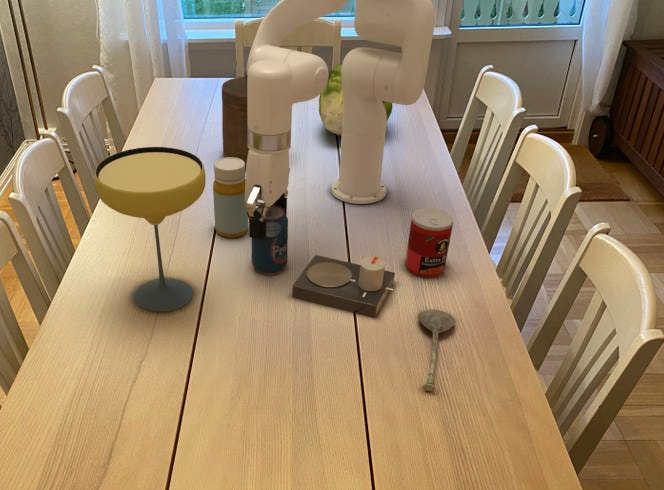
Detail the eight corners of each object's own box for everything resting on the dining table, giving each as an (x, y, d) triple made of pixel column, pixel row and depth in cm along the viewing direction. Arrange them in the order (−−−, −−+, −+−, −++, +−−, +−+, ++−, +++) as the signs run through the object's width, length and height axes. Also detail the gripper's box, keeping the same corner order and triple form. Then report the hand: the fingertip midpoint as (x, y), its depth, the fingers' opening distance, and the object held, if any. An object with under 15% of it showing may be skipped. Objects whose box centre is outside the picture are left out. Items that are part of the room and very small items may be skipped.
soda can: (280, 279, 137) (281, 222, 130) (246, 272, 139) (245, 217, 131) (291, 261, 142) (293, 206, 135) (258, 255, 144) (258, 200, 137)
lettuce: (298, 142, 190) (305, 78, 176) (337, 103, 203) (346, 41, 190) (364, 167, 185) (376, 103, 171) (399, 125, 198) (413, 63, 184)
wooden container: (282, 172, 174) (283, 79, 160) (221, 171, 174) (217, 79, 161) (282, 147, 186) (283, 59, 172) (225, 147, 186) (221, 58, 172)
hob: (292, 297, 133) (292, 285, 131) (314, 265, 141) (315, 253, 140) (382, 319, 127) (383, 306, 126) (400, 285, 136) (402, 273, 134)
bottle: (244, 240, 149) (242, 172, 139) (211, 237, 150) (207, 169, 140) (251, 224, 154) (250, 157, 144) (220, 221, 155) (216, 155, 146)
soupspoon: (455, 319, 129) (418, 315, 130) (457, 303, 127) (420, 299, 128) (448, 395, 112) (406, 389, 113) (451, 378, 110) (408, 372, 111)
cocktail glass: (124, 268, 140) (106, 145, 124) (216, 270, 140) (210, 146, 124) (105, 323, 126) (81, 192, 110) (207, 325, 126) (198, 194, 110)
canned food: (421, 282, 137) (429, 231, 130) (396, 262, 142) (403, 212, 135) (453, 272, 139) (462, 221, 133) (427, 253, 145) (436, 203, 138)
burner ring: (316, 259, 138) (316, 258, 138) (357, 269, 136) (357, 267, 135) (300, 281, 132) (300, 280, 132) (343, 292, 130) (343, 290, 129)
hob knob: (378, 293, 129) (381, 270, 126) (355, 288, 130) (357, 265, 127) (385, 281, 132) (388, 258, 129) (362, 276, 134) (364, 253, 131)
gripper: (269, 118, 132) (268, 204, 142) (227, 152, 119) (230, 243, 130) (307, 124, 129) (303, 211, 140) (269, 159, 117) (268, 252, 127)
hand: (268, 226), depth 135 cm, fingers open, 9 cm apart
